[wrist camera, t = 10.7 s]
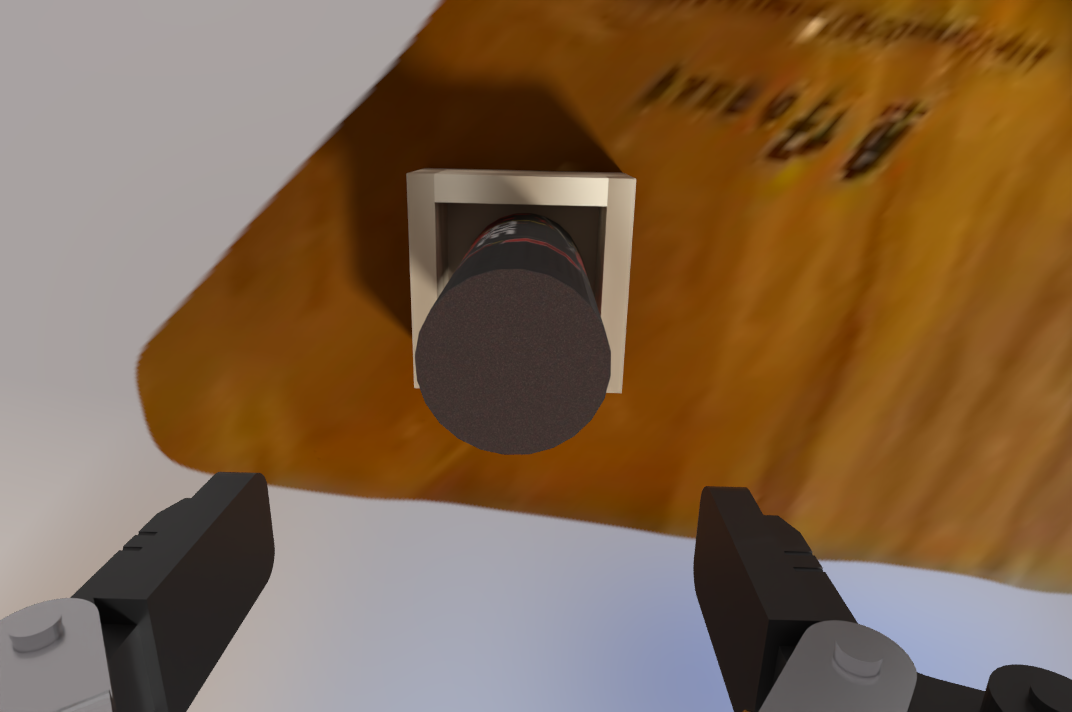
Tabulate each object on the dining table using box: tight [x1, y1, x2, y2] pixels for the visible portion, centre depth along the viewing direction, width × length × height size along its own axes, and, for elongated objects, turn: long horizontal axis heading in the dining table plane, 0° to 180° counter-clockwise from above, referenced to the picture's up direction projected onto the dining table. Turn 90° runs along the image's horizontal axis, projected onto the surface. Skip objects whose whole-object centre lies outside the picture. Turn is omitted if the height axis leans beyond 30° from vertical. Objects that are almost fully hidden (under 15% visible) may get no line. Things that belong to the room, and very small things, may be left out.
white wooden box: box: [406, 168, 636, 393], centre depth 33 cm, size 10×10×5 cm
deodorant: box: [415, 213, 611, 455], centre depth 27 cm, size 6×6×15 cm
